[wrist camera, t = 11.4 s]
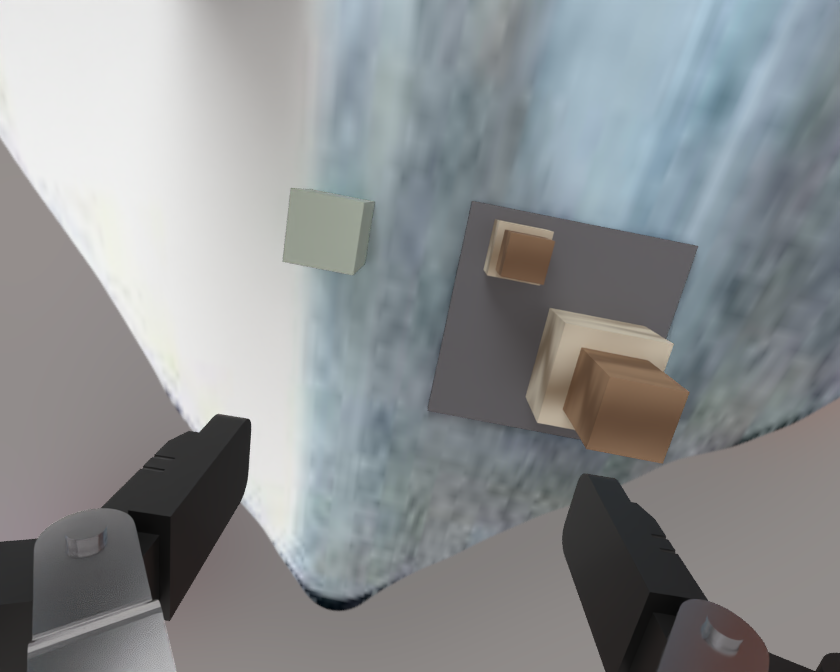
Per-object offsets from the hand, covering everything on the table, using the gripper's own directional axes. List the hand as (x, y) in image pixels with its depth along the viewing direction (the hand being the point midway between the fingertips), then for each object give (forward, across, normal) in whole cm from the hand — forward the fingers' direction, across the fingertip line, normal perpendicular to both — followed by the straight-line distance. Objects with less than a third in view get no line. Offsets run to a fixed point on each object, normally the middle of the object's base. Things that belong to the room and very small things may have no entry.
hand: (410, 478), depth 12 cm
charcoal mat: (+29, -12, +4) cm, 31 cm away
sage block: (+30, +7, -2) cm, 31 cm away
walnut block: (+23, -14, +5) cm, 28 cm away
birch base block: (+28, -14, +6) cm, 32 cm away
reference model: (+29, -7, -3) cm, 30 cm away
